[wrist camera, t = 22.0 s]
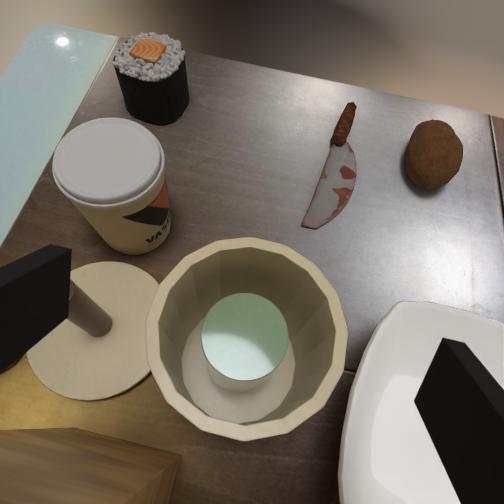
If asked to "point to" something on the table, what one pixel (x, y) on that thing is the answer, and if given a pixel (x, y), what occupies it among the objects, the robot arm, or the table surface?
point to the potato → (433, 154)
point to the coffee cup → (116, 182)
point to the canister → (243, 341)
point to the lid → (98, 334)
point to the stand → (82, 469)
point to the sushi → (152, 77)
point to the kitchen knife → (334, 175)
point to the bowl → (405, 405)
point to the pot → (299, 345)
